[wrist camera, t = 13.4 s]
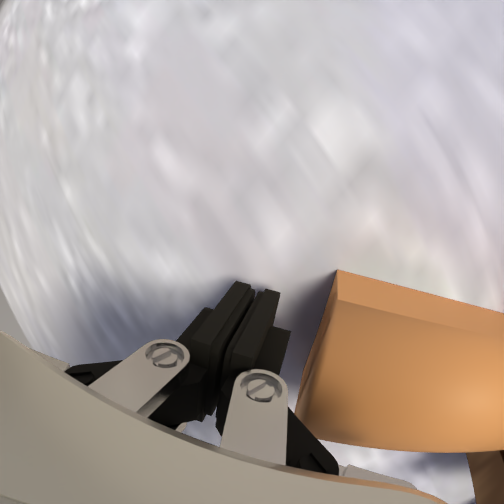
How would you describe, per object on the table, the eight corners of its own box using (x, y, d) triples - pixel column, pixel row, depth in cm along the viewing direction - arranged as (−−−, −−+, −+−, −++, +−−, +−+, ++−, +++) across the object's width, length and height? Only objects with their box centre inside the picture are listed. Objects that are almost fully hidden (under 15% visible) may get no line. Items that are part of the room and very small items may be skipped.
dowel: (546, 325, 9) (593, 382, 4) (500, 401, 10) (526, 466, 6) (337, 269, 11) (337, 347, 6) (303, 370, 13) (282, 460, 8)
